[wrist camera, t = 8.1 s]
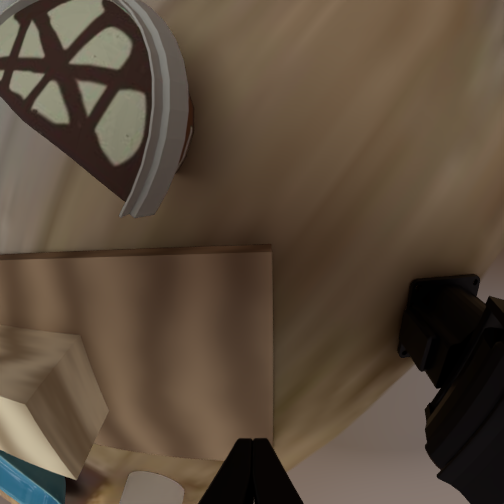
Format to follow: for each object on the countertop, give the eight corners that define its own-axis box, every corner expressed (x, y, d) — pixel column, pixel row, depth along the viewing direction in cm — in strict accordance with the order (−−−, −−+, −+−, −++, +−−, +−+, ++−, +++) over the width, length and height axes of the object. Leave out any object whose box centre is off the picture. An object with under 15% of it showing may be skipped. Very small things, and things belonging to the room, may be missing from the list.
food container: (260, 107, 17) (266, 59, 7) (195, 188, 18) (133, 228, 9) (114, 13, 15) (31, -51, 5) (60, 86, 16) (-46, 67, 7)
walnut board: (270, 244, 19) (272, 251, 18) (272, 448, 26) (272, 460, 24) (-39, 256, 20) (-48, 261, 19) (26, 414, 26) (20, 421, 25)
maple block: (80, 335, 20) (25, 404, 13) (109, 410, 23) (76, 480, 15) (-15, 322, 20) (-66, 367, 13) (15, 389, 23) (-22, 437, 15)
